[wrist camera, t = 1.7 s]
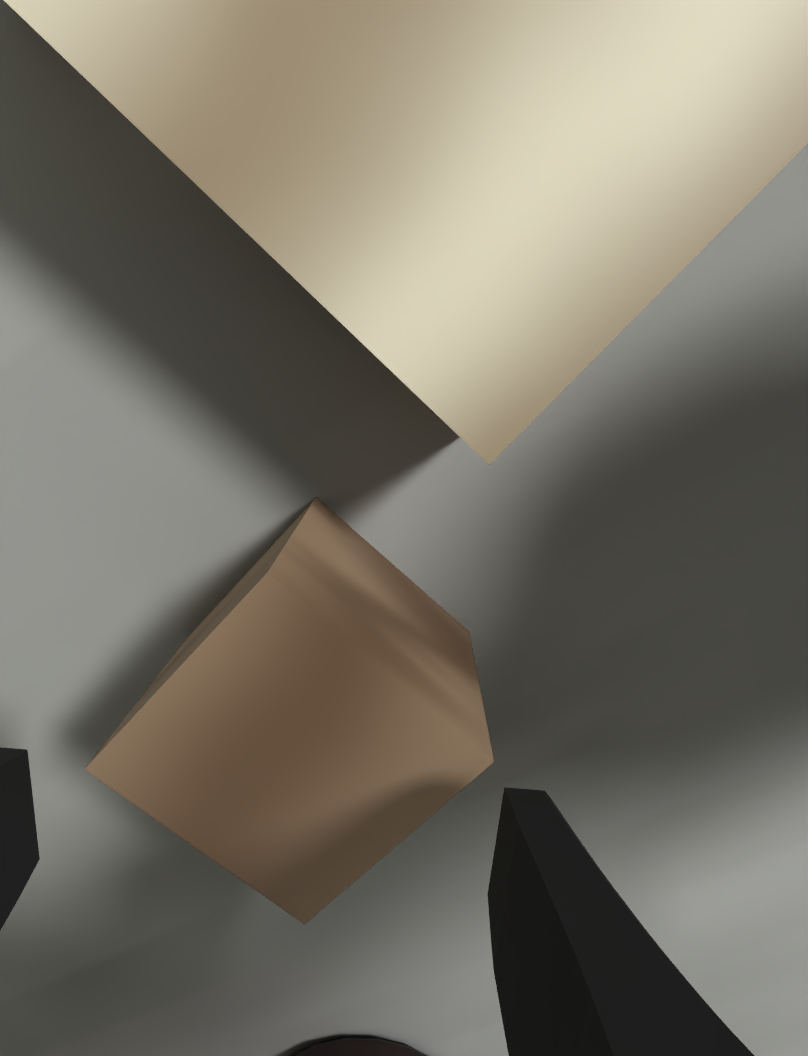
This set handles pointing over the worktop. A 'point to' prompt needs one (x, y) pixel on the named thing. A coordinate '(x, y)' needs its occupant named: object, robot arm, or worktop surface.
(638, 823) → the worktop surface
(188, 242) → the worktop surface
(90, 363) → the worktop surface
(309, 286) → the birch pedestal
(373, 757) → the walnut cube
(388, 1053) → the vinegar
